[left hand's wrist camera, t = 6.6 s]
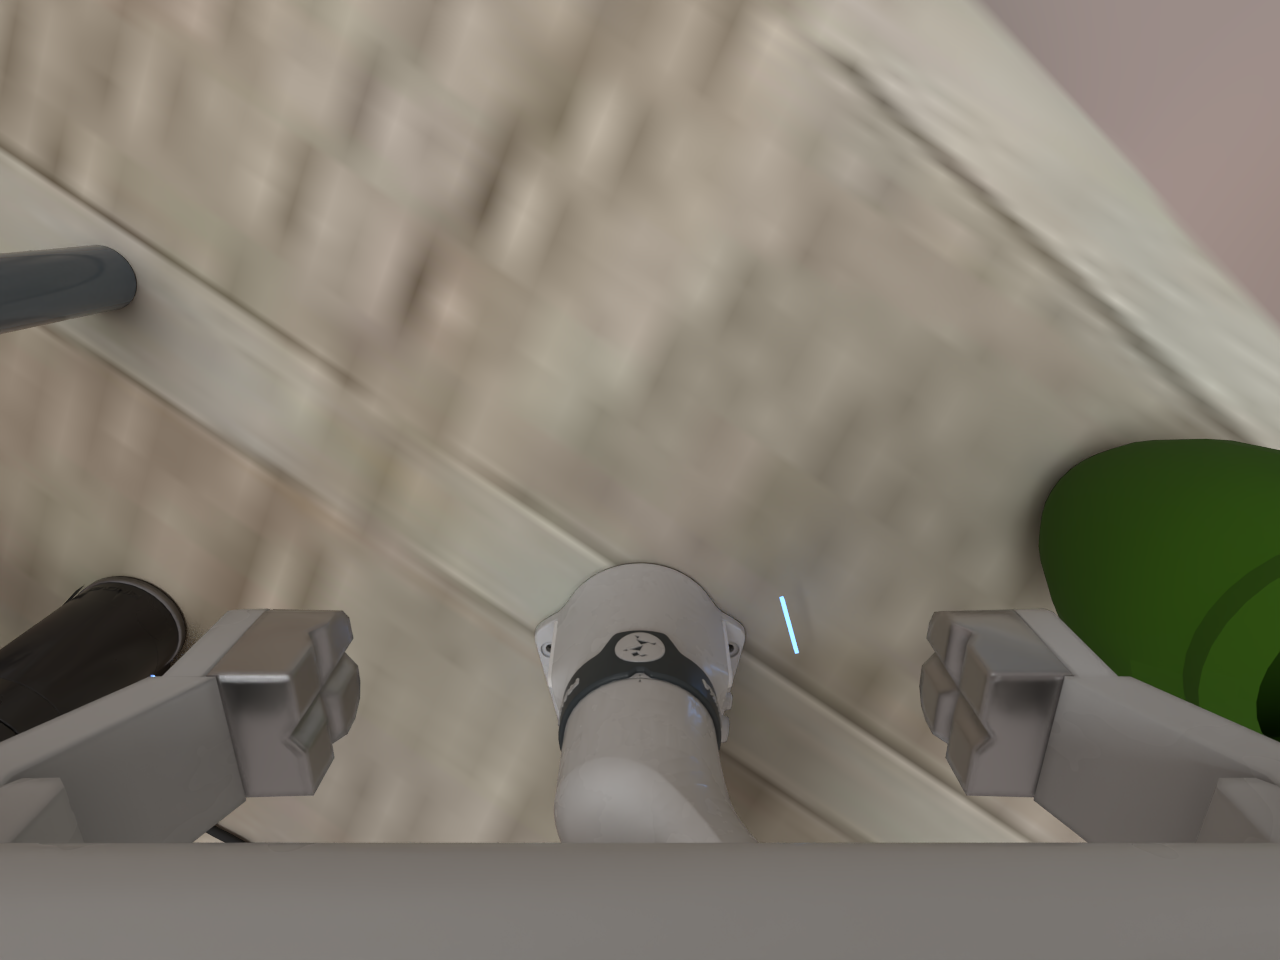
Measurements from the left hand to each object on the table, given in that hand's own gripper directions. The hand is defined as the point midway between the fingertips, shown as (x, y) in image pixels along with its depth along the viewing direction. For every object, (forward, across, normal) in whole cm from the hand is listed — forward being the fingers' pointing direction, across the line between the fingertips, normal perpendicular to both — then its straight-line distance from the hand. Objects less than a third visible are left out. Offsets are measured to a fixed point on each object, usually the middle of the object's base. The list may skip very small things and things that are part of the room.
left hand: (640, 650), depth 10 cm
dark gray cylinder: (+48, -40, 0) cm, 63 cm away
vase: (+48, +38, -18) cm, 64 cm away
